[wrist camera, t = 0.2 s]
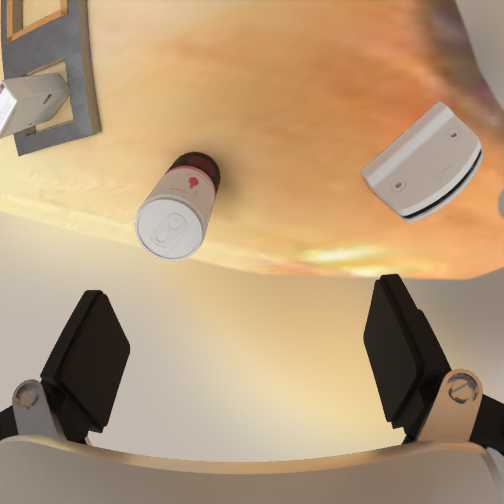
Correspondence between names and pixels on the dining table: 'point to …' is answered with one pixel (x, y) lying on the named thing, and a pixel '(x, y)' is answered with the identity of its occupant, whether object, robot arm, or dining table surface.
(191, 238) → the beverage can
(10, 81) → the skincare box
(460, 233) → the dining table surface
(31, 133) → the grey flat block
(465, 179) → the white curved block
